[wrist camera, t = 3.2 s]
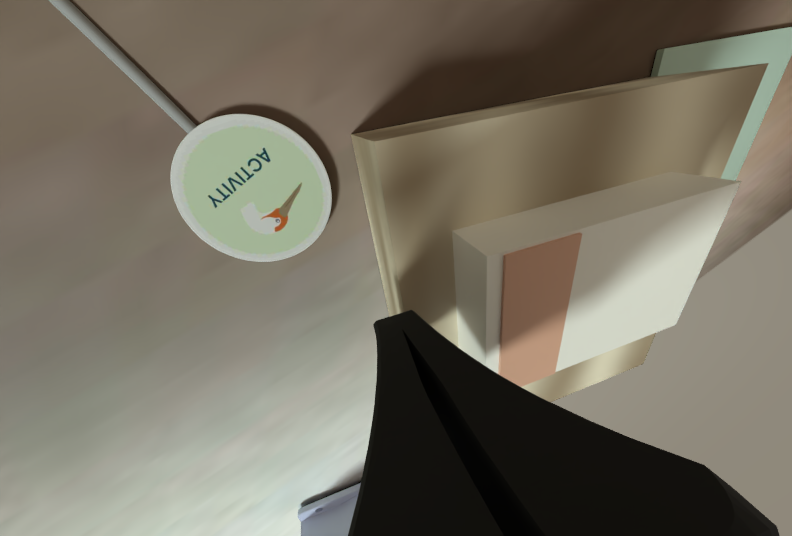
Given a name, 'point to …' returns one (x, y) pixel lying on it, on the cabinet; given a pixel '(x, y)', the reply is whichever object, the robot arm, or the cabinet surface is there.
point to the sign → (236, 173)
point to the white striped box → (583, 272)
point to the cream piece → (536, 179)
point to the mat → (735, 53)
